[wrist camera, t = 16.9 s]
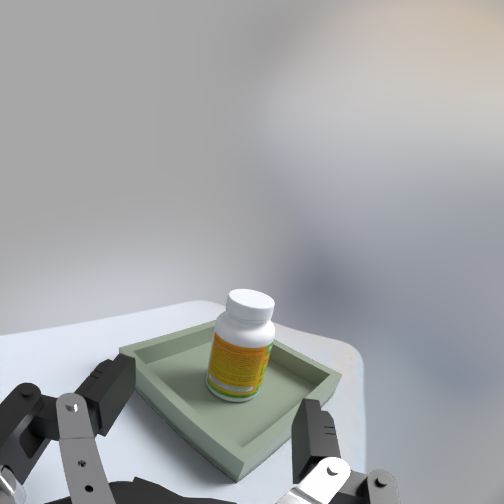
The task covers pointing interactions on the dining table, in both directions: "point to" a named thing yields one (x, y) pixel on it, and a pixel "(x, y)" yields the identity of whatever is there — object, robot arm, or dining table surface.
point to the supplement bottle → (241, 346)
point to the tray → (222, 411)
